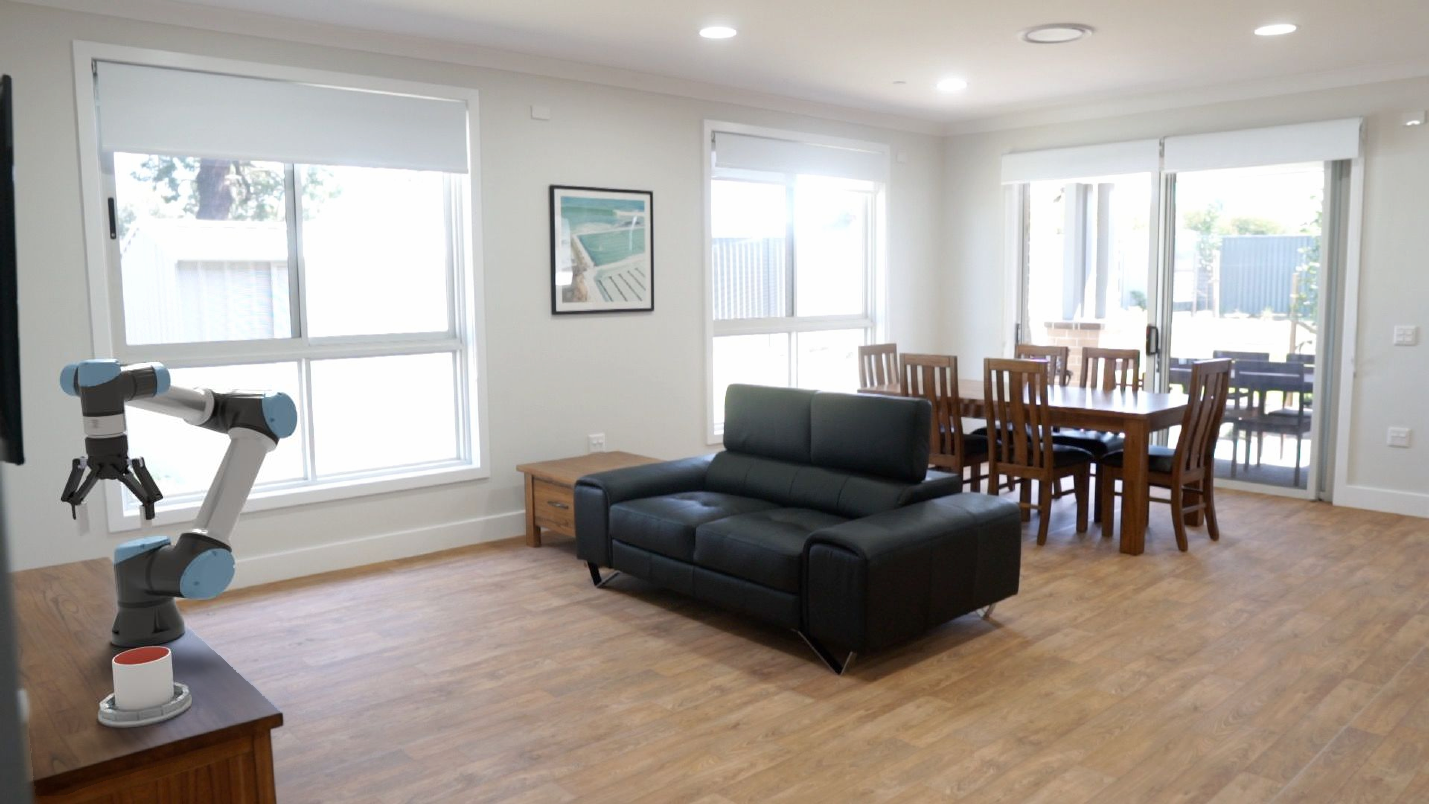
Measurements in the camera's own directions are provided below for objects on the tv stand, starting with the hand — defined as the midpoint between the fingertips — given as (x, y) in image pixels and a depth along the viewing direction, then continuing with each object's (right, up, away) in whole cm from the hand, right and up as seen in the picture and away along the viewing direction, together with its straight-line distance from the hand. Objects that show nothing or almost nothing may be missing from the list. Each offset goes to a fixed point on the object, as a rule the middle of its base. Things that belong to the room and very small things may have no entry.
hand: (115, 534), depth 212 cm
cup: (+14, -32, -14) cm, 37 cm away
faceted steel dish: (+14, -32, -14) cm, 38 cm away
